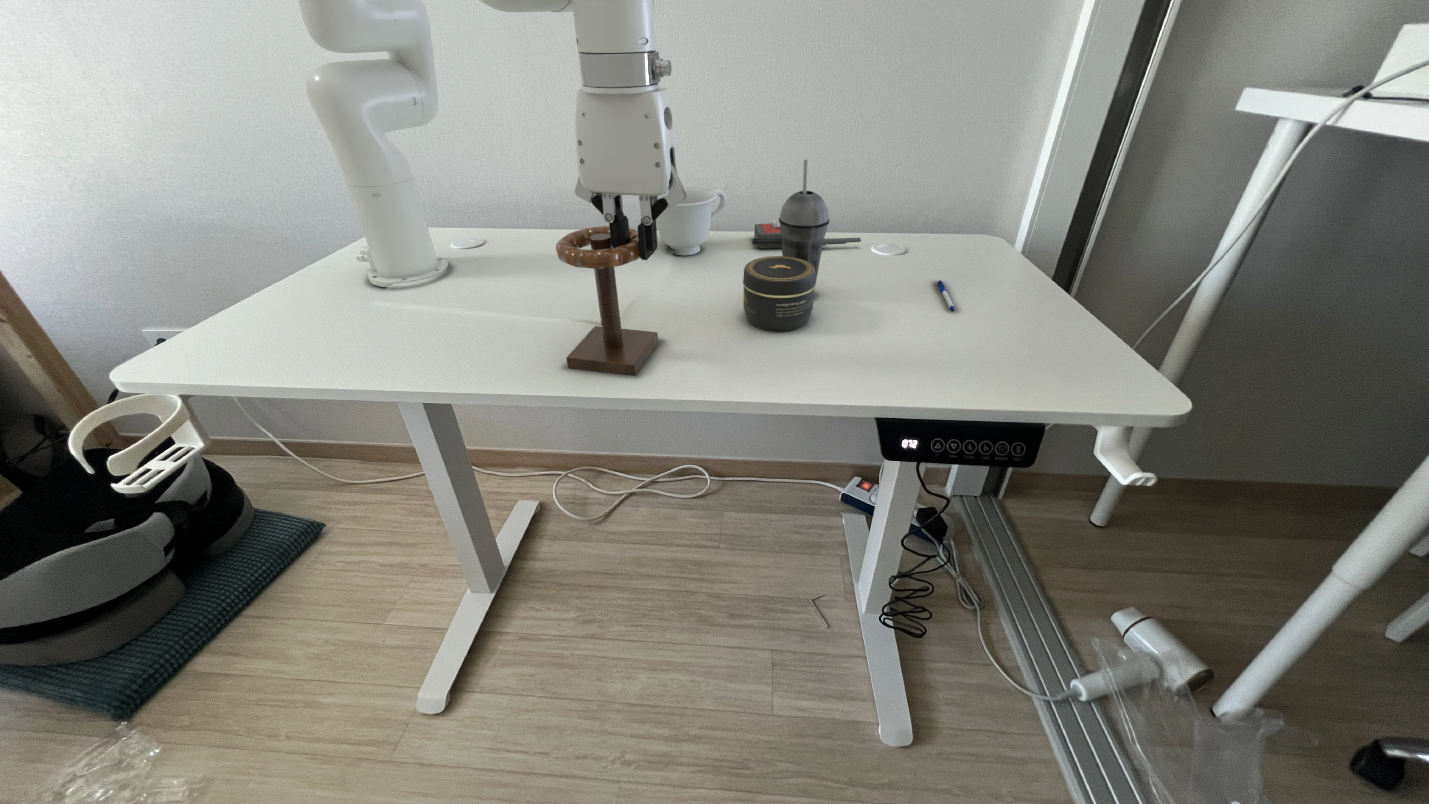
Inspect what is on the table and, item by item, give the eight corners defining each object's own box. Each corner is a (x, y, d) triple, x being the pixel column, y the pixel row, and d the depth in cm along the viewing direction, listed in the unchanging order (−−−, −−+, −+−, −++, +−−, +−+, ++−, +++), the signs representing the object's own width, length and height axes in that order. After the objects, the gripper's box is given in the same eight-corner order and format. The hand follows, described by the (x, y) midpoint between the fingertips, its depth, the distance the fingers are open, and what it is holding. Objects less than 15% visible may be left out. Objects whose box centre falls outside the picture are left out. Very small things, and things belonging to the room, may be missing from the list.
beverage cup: (827, 289, 93) (841, 155, 82) (814, 307, 87) (827, 165, 76) (784, 282, 95) (791, 151, 84) (768, 299, 90) (774, 161, 79)
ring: (542, 268, 66) (538, 250, 64) (580, 238, 74) (578, 222, 73) (629, 273, 63) (627, 255, 62) (659, 242, 72) (657, 226, 71)
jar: (732, 309, 87) (733, 259, 83) (794, 299, 90) (797, 251, 85) (757, 338, 79) (759, 285, 75) (824, 327, 82) (829, 275, 77)
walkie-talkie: (753, 253, 107) (861, 249, 108) (754, 229, 104) (864, 225, 105) (747, 238, 114) (848, 234, 115) (748, 215, 111) (851, 211, 113)
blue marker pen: (935, 284, 94) (936, 278, 94) (940, 284, 94) (942, 278, 94) (950, 312, 86) (951, 306, 85) (956, 312, 86) (958, 306, 85)
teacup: (742, 250, 108) (743, 194, 103) (672, 266, 102) (668, 208, 96) (708, 233, 117) (707, 181, 111) (641, 247, 110) (636, 192, 105)
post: (567, 367, 73) (546, 247, 65) (596, 335, 81) (580, 222, 72) (635, 375, 72) (622, 252, 63) (658, 341, 79) (650, 227, 70)
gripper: (708, 70, 59) (710, 249, 69) (561, 69, 62) (584, 240, 72) (687, 78, 53) (693, 272, 63) (526, 76, 56) (557, 261, 66)
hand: (635, 253), depth 68 cm, fingers closed on ring, 2 cm apart
